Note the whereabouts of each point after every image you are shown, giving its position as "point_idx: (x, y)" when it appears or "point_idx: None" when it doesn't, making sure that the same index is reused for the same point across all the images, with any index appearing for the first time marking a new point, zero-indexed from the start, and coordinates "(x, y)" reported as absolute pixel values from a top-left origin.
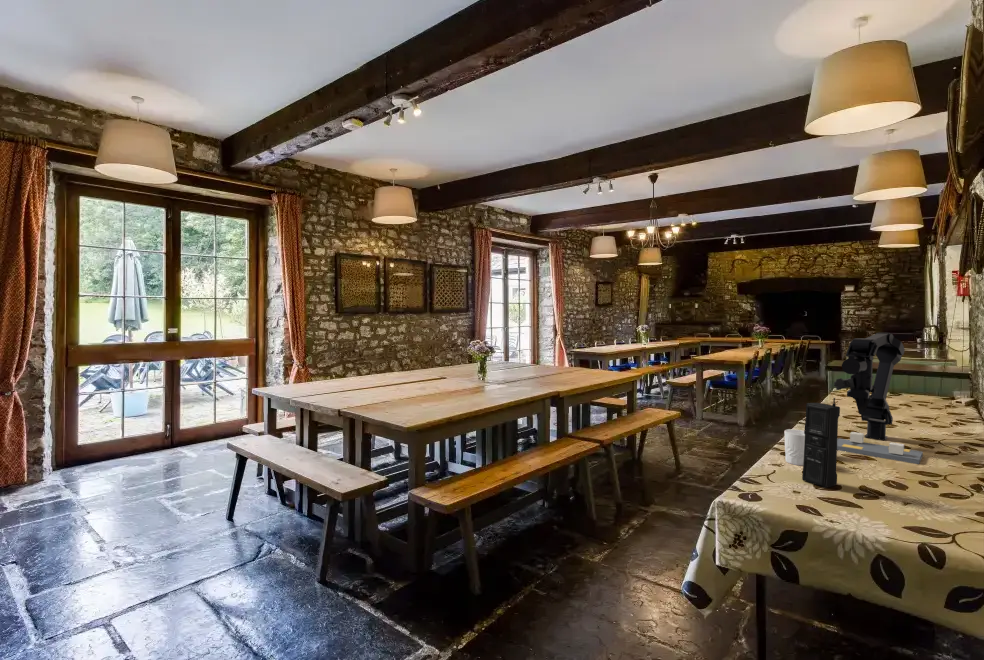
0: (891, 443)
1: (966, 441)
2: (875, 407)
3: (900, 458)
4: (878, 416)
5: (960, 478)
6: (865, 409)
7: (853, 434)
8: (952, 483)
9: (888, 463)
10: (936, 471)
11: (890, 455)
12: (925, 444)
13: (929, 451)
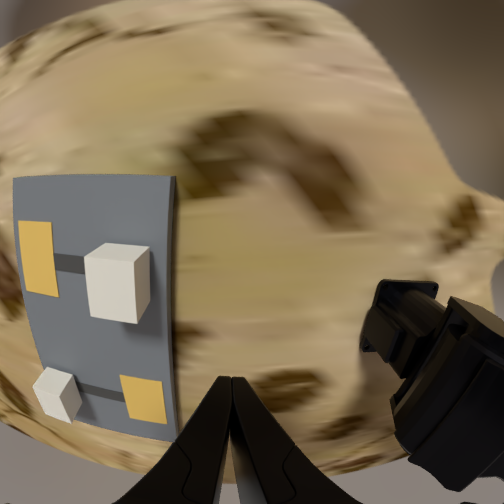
0: (44, 394)
1: None
2: (435, 435)
3: None
4: (401, 406)
5: (41, 433)
6: (461, 367)
7: (88, 272)
8: (3, 411)
9: (11, 345)
10: (46, 417)
11: (44, 365)
12: (363, 423)
13: None
